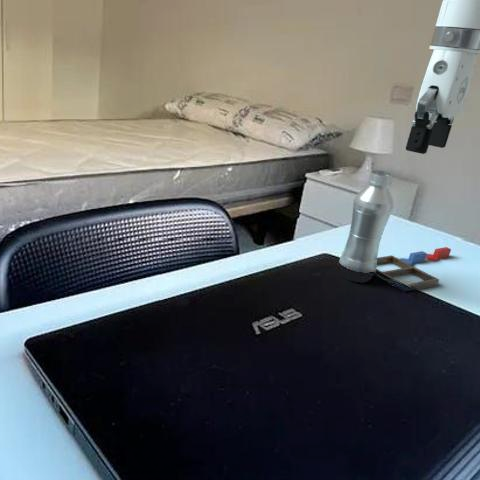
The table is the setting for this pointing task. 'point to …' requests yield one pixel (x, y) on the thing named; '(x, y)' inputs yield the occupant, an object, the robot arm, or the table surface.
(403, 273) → the cutlery tray
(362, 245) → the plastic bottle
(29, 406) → the table surface
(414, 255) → the blue stepped block
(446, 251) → the red stepped block
